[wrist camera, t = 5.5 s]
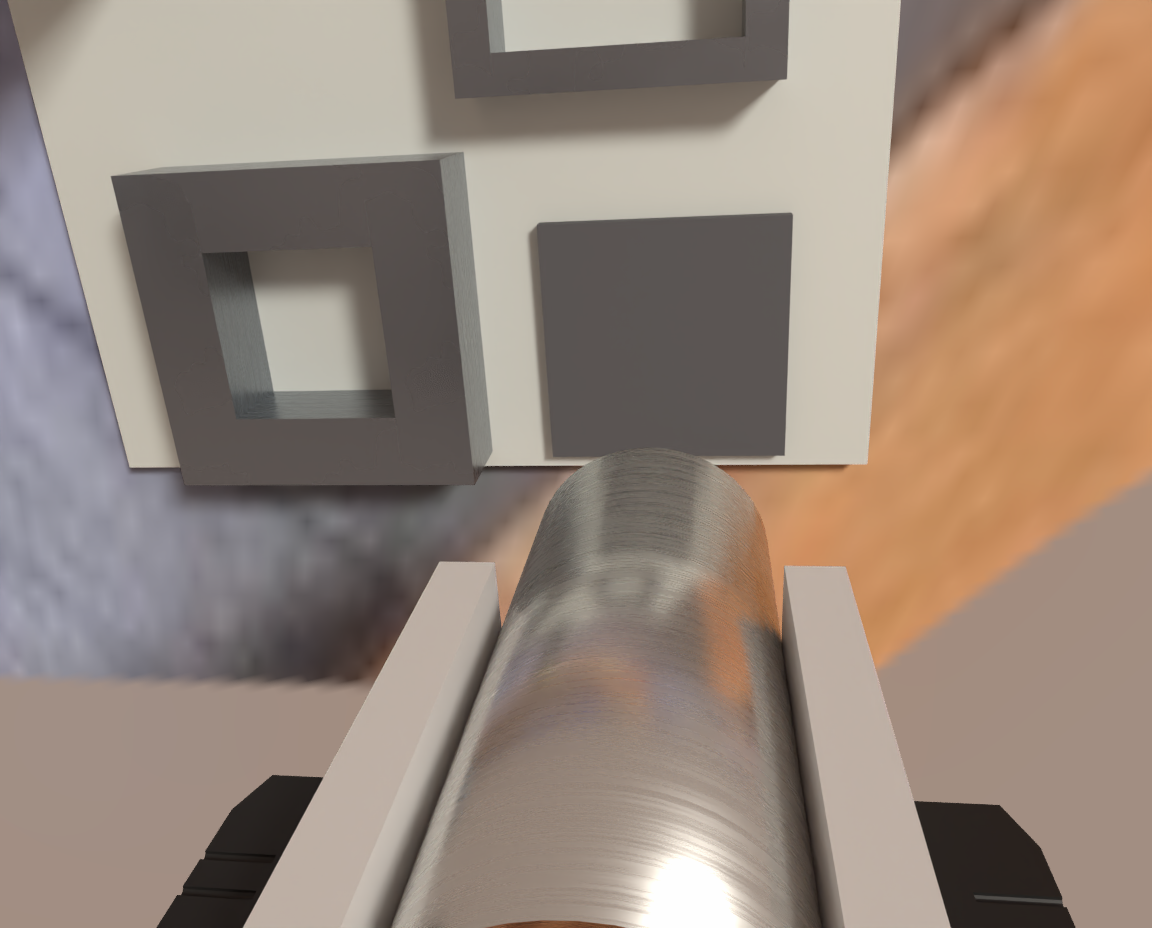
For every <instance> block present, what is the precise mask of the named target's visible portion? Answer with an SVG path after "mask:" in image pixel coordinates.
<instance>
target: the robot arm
mask: <svg viewBox="0 0 1152 928" xmlns="http://www.w3.org/2000/svg"><path fill="white" fill-rule="evenodd" d="M500 631H501V619H500V609H499V600H498V590H497V580H496V570H495V562H439V564H438V566H437V567H436V569H435V571H434V573H433V575H432V577H431V579H430V580H429V582H428V584H427V586H426V588H425V590H424V592H423V593H422V595H421V597H420V599H419V601H418V603H417V605H416V607H415V608H414V610H413V612H412V614H411V616H410V618H409V620H408V621H407V623H406V625H405V627H404V629H403V631H402V633H401V634H400V636H399V638H398V640H397V642H396V644H395V646H394V647H393V649H392V651H391V653H390V655H389V657H388V659H387V661H386V662H385V664H384V666H383V668H382V670H381V672H380V674H379V675H378V677H377V679H376V681H375V683H374V685H373V687H372V688H371V690H370V692H369V694H368V696H367V698H366V700H365V701H364V703H363V705H362V707H361V709H360V711H359V713H358V715H357V717H356V718H355V720H354V722H353V724H352V726H351V728H350V729H349V732H348V734H347V735H346V737H345V739H344V741H343V742H342V744H341V746H340V748H339V750H338V752H337V754H336V755H335V757H334V759H333V761H332V763H331V765H330V767H329V769H328V770H327V772H326V774H325V776H324V778H323V777H322V778H321V777H300V776H279V775H272V776H271V777H270V778H269V779H267V780H266V781H265V782H264V783H263V784H262V785H260V786H259V787H258V788H257V789H256V790H254V791H253V792H252V793H251V794H250V795H249V796H247V797H246V798H245V799H244V800H243V801H241V802H240V803H239V804H238V805H237V806H236V807H234V808H233V809H232V810H231V812H230V813H229V815H228V816H227V818H226V820H225V821H224V823H223V824H222V826H221V827H220V829H219V831H218V832H217V834H216V835H215V837H214V838H213V840H212V842H211V843H210V845H209V846H208V848H207V849H206V851H205V852H206V854H205V858H204V860H202V859H200V860H199V862H198V864H197V865H196V867H195V868H194V870H193V871H192V873H191V874H190V876H189V878H188V879H187V881H186V882H185V884H184V885H183V892H182V895H177V896H176V898H175V899H174V901H173V903H172V904H171V906H170V908H169V909H168V911H167V912H166V914H165V915H164V917H163V918H162V920H161V921H160V923H159V925H158V926H157V928H391V925H392V922H393V920H394V917H395V914H396V912H397V909H398V906H399V904H400V901H401V898H402V896H403V893H404V890H405V887H406V885H407V882H408V879H409V877H410V874H411V871H412V869H413V866H414V863H415V860H416V858H417V855H418V852H419V850H420V847H421V844H422V842H423V839H424V836H425V834H426V831H427V828H428V825H429V823H430V820H431V817H432V815H433V812H434V809H435V807H436V804H437V801H438V799H439V796H440V793H441V790H442V788H443V785H444V782H445V780H446V777H447V774H448V772H449V769H450V766H451V763H452V761H453V758H454V755H455V753H456V750H457V747H458V745H459V742H460V739H461V737H462V734H463V731H464V728H465V726H466V723H467V720H468V718H469V715H470V712H471V710H472V707H473V704H474V702H475V699H476V696H477V693H478V691H479V688H480V685H481V683H482V680H483V677H484V675H485V672H486V669H487V666H488V664H489V661H490V658H491V656H492V653H493V650H494V648H495V645H496V642H497V640H498V637H499V634H500ZM782 649H783V656H784V663H785V670H786V677H787V684H788V691H789V698H790V705H791V712H792V719H793V726H794V733H795V740H796V747H797V754H798V761H799V768H800V775H801V782H802V789H803V796H804V803H805V810H806V817H807V824H808V831H809V838H810V845H811V852H812V859H813V866H814V873H815V880H816V887H817V894H818V901H819V908H820V915H821V922H822V928H1075V926H1074V923H1073V921H1072V919H1071V916H1070V914H1069V912H1068V909H1067V907H1063V904H1062V896H1061V893H1060V891H1059V889H1058V887H1057V884H1056V882H1055V880H1054V877H1053V875H1052V873H1051V871H1050V869H1049V866H1048V864H1047V862H1046V859H1045V857H1044V855H1043V852H1042V850H1041V848H1040V847H1039V846H1038V845H1037V844H1036V843H1035V841H1034V840H1033V839H1032V838H1031V837H1030V836H1029V835H1028V834H1027V833H1026V832H1025V831H1024V830H1023V829H1022V828H1021V827H1020V826H1019V825H1018V824H1017V823H1016V822H1015V821H1014V820H1013V819H1012V818H1011V817H1010V815H1009V814H1008V813H1006V811H1004V809H1003V808H1002V807H1001V806H1000V805H986V804H963V803H941V802H919V801H914V800H913V796H912V793H911V790H910V786H909V783H908V779H907V776H906V772H905V769H904V766H903V762H902V759H901V755H900V752H899V749H898V745H897V742H896V738H895V735H894V731H893V728H892V724H891V721H890V718H889V714H888V711H887V707H886V704H885V700H884V697H883V694H882V690H881V687H880V683H879V680H878V676H877V673H876V670H875V666H874V663H873V659H872V656H871V652H870V649H869V646H868V642H867V639H866V635H865V632H864V628H863V625H862V622H861V618H860V615H859V611H858V608H857V604H856V601H855V598H854V594H853V591H852V587H851V584H850V580H849V577H848V574H847V570H846V567H839V566H784V588H783V615H782Z"/></svg>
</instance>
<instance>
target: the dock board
mask: <svg viewBox="0 0 1152 928" xmlns="http://www.w3.org/2000/svg"><path fill="white" fill-rule="evenodd" d="M7 1H8V5H9V9H10V12H11V16H12V20H13V24H14V28H15V31H16V35H17V39H18V43H19V47H20V50H21V54H22V58H23V62H24V66H25V70H26V73H27V77H28V81H29V85H30V89H31V92H32V96H33V100H34V104H35V108H36V111H37V115H38V119H39V123H40V127H41V131H42V134H43V138H44V142H45V146H46V150H47V153H48V157H49V161H50V165H51V169H52V172H53V176H54V180H55V184H56V188H57V192H58V195H59V199H60V203H61V207H62V211H63V214H64V218H65V222H66V226H67V230H68V233H69V237H70V241H71V245H72V249H73V253H74V256H75V260H76V264H77V268H78V272H79V275H80V279H81V283H82V287H83V291H84V294H85V298H86V302H87V306H88V310H89V314H90V317H91V321H92V325H93V329H94V333H95V336H96V340H97V344H98V348H99V352H100V355H101V359H102V363H103V367H104V371H105V375H106V378H107V382H108V386H109V390H110V394H111V397H112V401H113V405H114V409H115V413H116V417H117V420H118V424H119V428H120V432H121V436H122V439H123V443H124V447H125V451H126V455H127V458H128V462H129V466H130V468H136V467H180V464H179V460H178V456H177V451H176V447H175V443H174V439H173V435H172V430H171V426H170V422H169V418H168V414H167V410H166V405H165V401H164V397H163V393H162V389H161V385H160V380H159V376H158V372H157V368H156V364H155V359H154V355H153V351H152V347H151V343H150V339H149V334H148V330H147V326H146V322H145V318H144V313H143V309H142V305H141V301H140V297H139V293H138V288H137V284H136V280H135V276H134V272H133V268H132V263H131V259H130V255H129V251H128V247H127V242H126V238H125V234H124V230H123V226H122V222H121V217H120V213H119V209H118V205H117V201H116V197H115V192H114V188H113V184H112V180H111V176H114V175H120V174H126V173H131V172H137V171H143V170H149V169H154V168H160V167H174V166H194V165H214V164H233V163H253V162H273V161H293V160H313V159H332V158H352V157H372V156H392V155H412V154H431V153H451V152H464V161H465V171H466V181H467V192H468V202H469V212H470V222H471V233H472V243H473V253H474V264H475V274H476V284H477V295H478V305H479V315H480V326H481V336H482V346H483V357H484V367H485V377H486V387H487V398H488V408H489V418H490V429H491V439H492V449H493V452H492V454H491V455H490V457H489V459H488V461H487V463H486V465H485V466H585V465H586V464H588V463H589V462H591V461H594V460H596V459H598V458H600V457H553V451H552V436H551V422H550V408H549V394H548V379H547V365H546V351H545V337H544V322H543V308H542V294H541V279H540V265H539V251H538V237H537V224H538V223H539V222H564V221H589V220H614V219H639V218H665V217H690V216H715V215H740V214H765V213H790V212H791V213H792V214H793V231H792V260H791V289H790V318H789V347H788V376H787V405H786V434H785V456H697V457H699V458H701V459H704V460H706V461H708V462H710V463H712V464H713V465H814V464H867V462H868V448H869V434H870V420H871V406H872V393H873V379H874V365H875V351H876V337H877V323H878V309H879V296H880V282H881V268H882V254H883V240H884V226H885V212H886V199H887V185H888V171H889V157H890V143H891V129H892V115H893V101H894V88H895V74H896V60H897V46H898V32H899V18H900V4H901V0H790V1H789V34H788V67H787V79H786V80H768V81H751V82H734V83H717V84H700V85H683V86H666V87H649V88H631V89H614V90H597V91H580V92H563V93H546V94H529V95H512V96H494V97H477V98H460V99H455V92H454V82H453V72H452V62H451V52H450V42H449V31H448V21H447V11H446V1H445V0H7ZM501 1H502V13H503V26H504V39H505V52H513V51H528V50H543V49H559V48H574V47H590V46H605V45H621V44H636V43H651V42H667V41H682V40H698V39H713V38H729V37H742V0H501ZM247 253H248V259H249V264H250V269H251V274H252V280H253V285H254V290H255V295H256V301H257V306H258V311H259V316H260V322H261V327H262V332H263V337H264V343H265V348H266V353H267V358H268V364H269V369H270V374H271V379H272V385H273V390H274V391H330V390H391V383H390V376H389V369H388V361H387V354H386V347H385V340H384V333H383V325H382V318H381V311H380V304H379V297H378V289H377V282H376V275H375V268H374V260H373V253H372V247H354V248H327V249H300V250H273V251H247Z"/></svg>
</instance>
